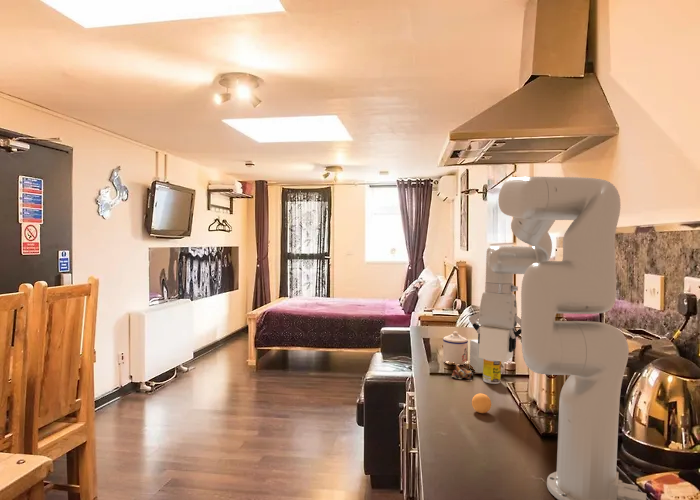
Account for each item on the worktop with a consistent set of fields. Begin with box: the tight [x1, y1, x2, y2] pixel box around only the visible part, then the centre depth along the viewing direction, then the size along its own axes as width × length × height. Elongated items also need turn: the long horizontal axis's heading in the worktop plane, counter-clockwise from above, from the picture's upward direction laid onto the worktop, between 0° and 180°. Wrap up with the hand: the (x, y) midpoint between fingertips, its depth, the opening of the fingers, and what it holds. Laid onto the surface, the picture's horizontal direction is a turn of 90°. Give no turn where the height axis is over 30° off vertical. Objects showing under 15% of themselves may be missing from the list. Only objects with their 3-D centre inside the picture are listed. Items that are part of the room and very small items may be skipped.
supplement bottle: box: [482, 359, 502, 385], centre depth 144 cm, size 6×6×10 cm
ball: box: [471, 393, 492, 414], centre depth 118 cm, size 5×5×5 cm
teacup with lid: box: [442, 331, 469, 364], centre depth 166 cm, size 12×9×12 cm
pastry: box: [450, 365, 474, 382], centre depth 151 cm, size 7×12×4 cm, turn 164°
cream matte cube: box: [479, 326, 514, 363], centre depth 129 cm, size 8×8×9 cm
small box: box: [469, 339, 484, 374], centre depth 157 cm, size 8×6×10 cm
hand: (496, 348), depth 129 cm, fingers closed on cream matte cube, 7 cm apart
